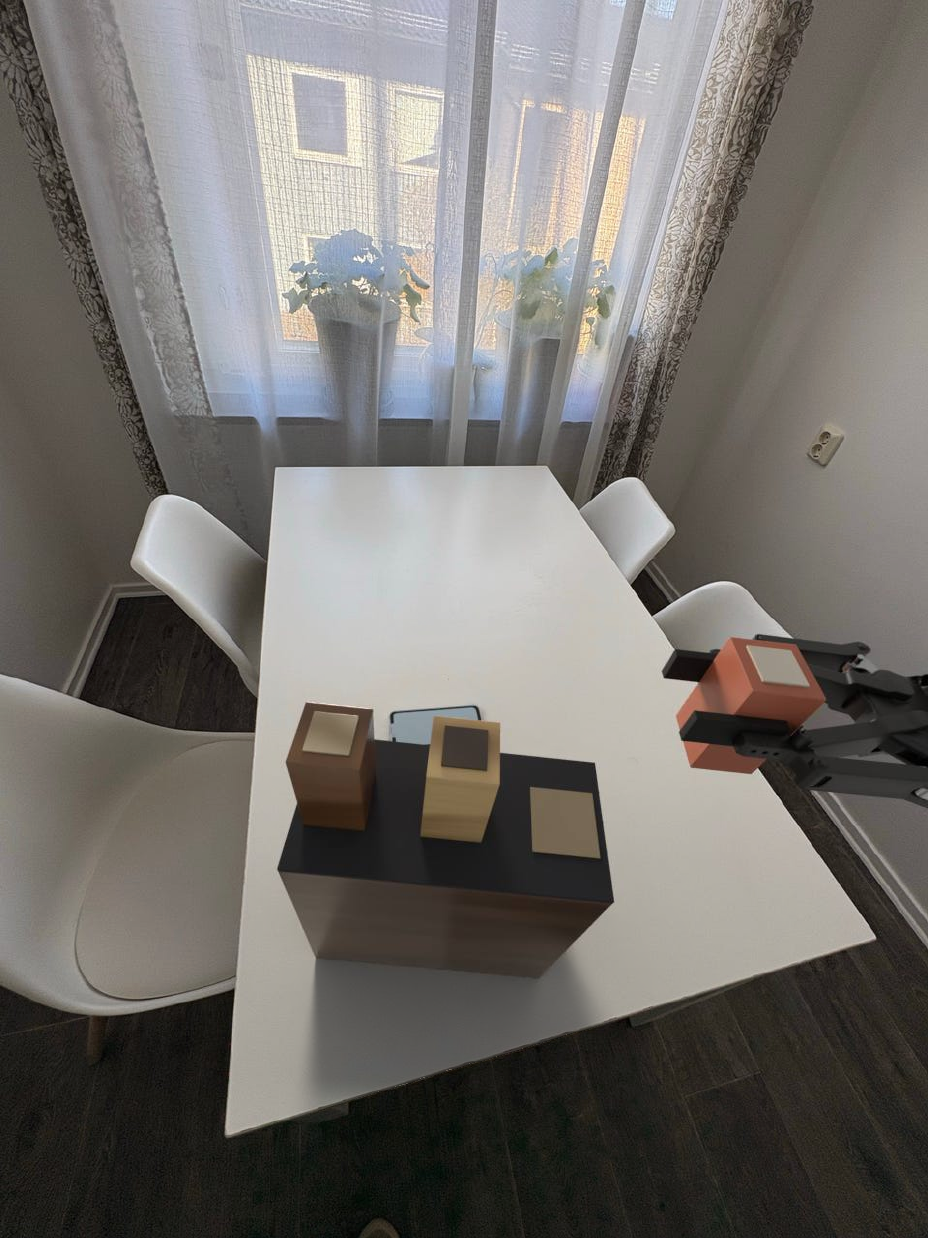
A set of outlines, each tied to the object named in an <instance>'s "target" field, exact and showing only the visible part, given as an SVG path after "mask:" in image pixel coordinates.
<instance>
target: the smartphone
mask: <svg viewBox="0 0 928 1238" xmlns="http://www.w3.org/2000/svg"><path fill="white" fill-rule="evenodd" d="M434 716H444V717H453V718H462V719H471V720H481V721H484V720H483V715H482V711H481V708H480V706H478V704H461V705H448V706H436V707H434V706H433V707H423V708H410V709H408V708H407V709H397V710H391V711H390V712H389V714H388V727H389V738H390V741H395V742H405V743H414V744H423V745H430V742H431V734H432V726H433V717H434Z"/></svg>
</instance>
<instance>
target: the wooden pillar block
mask: <svg viewBox="0 0 928 1238" xmlns="http://www.w3.org/2000/svg"><path fill="white" fill-rule="evenodd" d="M500 753H501V722H497V721H490V720H483V721H481V720H471V719H462V718H453V717H444V716H434V717H433V726H432V734H431V742H430V751H429V759H428V767H427V776H426V785H425V795H424V805H423V815H422V825H421V834H420V836H421V837H430V838H440V839H450V840H460V841H470V842H480V843H481V842H482V838H483V835H484V832H485V829H486V826H487V823H488V819H489V816H490V813H491V810H492V807H493V804H494V801H495V797H496V794H497V791H498V788H499V785H500Z"/></svg>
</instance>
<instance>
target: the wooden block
mask: <svg viewBox="0 0 928 1238" xmlns="http://www.w3.org/2000/svg"><path fill="white" fill-rule="evenodd" d="M374 719H375V718H374V709H373V708H368V707H367V708H366V707H360V706H349V705H340V704H330V703H322V702H311V701H305V703H304V707H303V710H302V712H301V715H300V718H299V720H298V724H297V727H296V730H295V733H294V735H293V738H292V741H291V745H290V748H289V750H288V754H287V756H286V759H285V765H286V769H287V771H288V773H287V774H288V776H289V779H290V783H291V786H292V787H291V788H292V790H293V793H294V794H293V795H294V797H295V801H296V805H297V804H298V808H299V811H300V815H301V818H302V822H303V825H311V826H321V827H331V828H341V829H351V830H361V831H365V828H366V823H367V817H368V812H369V807H370V802H371V797H372V792H373V787H374V782H375V777H376V766H375V742H374V739H375V722H374V721H375V720H374Z"/></svg>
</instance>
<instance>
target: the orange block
mask: <svg viewBox="0 0 928 1238" xmlns="http://www.w3.org/2000/svg"><path fill="white" fill-rule="evenodd" d="M720 649H721V651H720V652H719V654H718V655H717V656H716V658H715V659H714V661H713V662H712V664H711V665H710V667H709V668H708V670H707V671H706V672H705V674H704V675H703V677H702V678H701V680H700V681H699V682H697V683H696V686H695V687H694V688H693V690H692V691H691V693H690V694H689V695H688V697H687V699H686V700H685V701H684V703H683V704H682V706H681V707H680V709H679V710H678V711H677V713H676V715H675V718H676V721H677V726H678V729H679V730H680V729H681V728H682V727H683V725H684V724H685V723H686V721H687V720H688V718H689V717H690V716H691V714H692V713H693V712H694V710H697V711H706V712H715V713H724V714H733V715H740V716H749V717H758V718H767V719H776V720H785V721H787V723H788V726H789V728H790V731H789V732H788V733H787V734H786V735H792V734H793V733H794V732H795V731H796V730H797V729H798V728H799V727H800V726H802V725H803V724H804V723H805V722H806V721H807V720H808V719H809V718H810V717H811V716H812V715H813V714H814V713H815V712H816V711H817V710H818V709H819V708H820V707H821V706H823V704H824V702H825V701H826V698H825V696H824V694H823V692H822V691H821V689H820V687H819V685H818V683H817V681H816V680H815V678H814V676H813V674H812V672H811V671H810V669H809V667H808V665H807V663H806V662H805V660H804V658H803V656H802V654H801V652H800V651H799V649H798V647H797V645H794V644H786V643H777V642H769V641H760V640H752V638H751V639H750V638H743V637H742V638H741V637H734V636H729V637H728V639H727V640H726V642H725V643H724V645H723V646H722V648H720ZM682 743H683V746H684V749H685V753H686V757H687V760H688V764H689V767H690V768H691V769H699V770H708V771H717V772H718V771H719V772H727V773H735V774H743V775H744V774H745V775H752V774H753V773H755V771H757V770H758V769H759V767H760V766H761V765H763V764H764V763H765V761H767V759H763V758H754V757H745V756H742V755H739V754H737V753H736V752H735V749H734V747H733V746H724V745H715V744H706V743H697V742H688V741H682Z"/></svg>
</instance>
